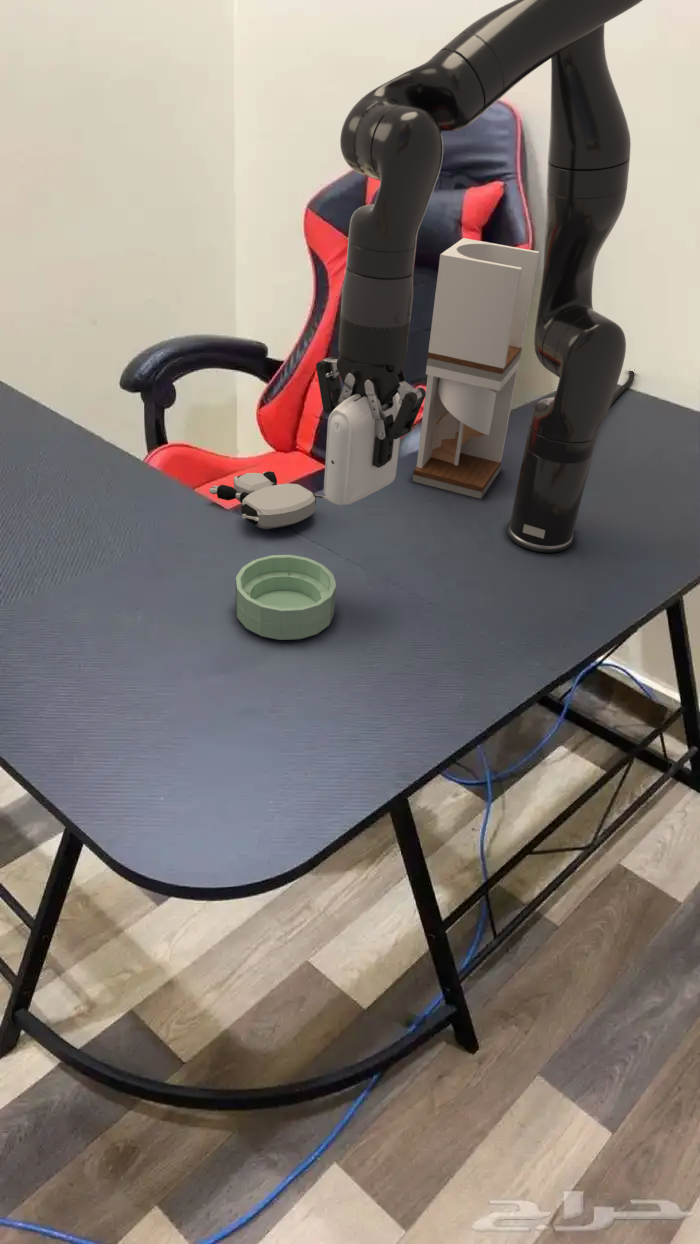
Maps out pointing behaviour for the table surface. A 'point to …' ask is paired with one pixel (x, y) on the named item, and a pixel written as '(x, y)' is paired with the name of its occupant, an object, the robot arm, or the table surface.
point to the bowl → (285, 597)
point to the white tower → (473, 363)
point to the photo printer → (355, 453)
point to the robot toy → (269, 500)
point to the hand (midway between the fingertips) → (362, 457)
